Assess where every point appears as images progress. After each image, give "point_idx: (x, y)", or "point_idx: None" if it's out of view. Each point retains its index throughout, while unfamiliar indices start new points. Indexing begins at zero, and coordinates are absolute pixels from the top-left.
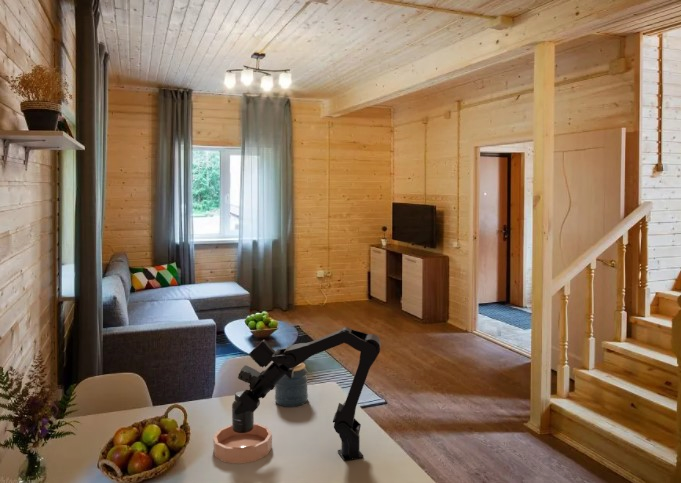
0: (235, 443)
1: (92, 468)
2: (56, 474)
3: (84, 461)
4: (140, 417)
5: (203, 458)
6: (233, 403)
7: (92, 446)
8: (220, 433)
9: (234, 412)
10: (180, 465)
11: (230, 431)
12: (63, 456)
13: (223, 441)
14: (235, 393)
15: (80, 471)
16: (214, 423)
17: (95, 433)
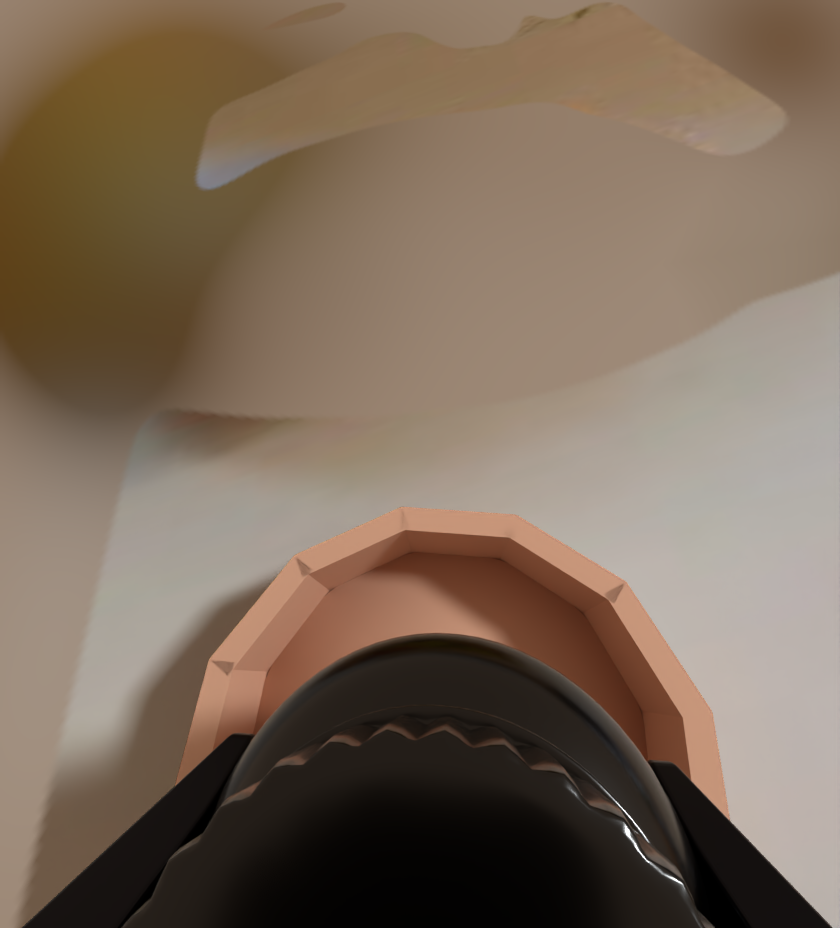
0: None
1: (255, 163)
2: (228, 109)
3: (305, 129)
4: (682, 127)
5: (310, 511)
6: (346, 683)
7: (410, 105)
8: (484, 539)
9: (223, 744)
10: (244, 423)
11: (581, 596)
12: (340, 78)
13: (490, 573)
14: (397, 748)
15: (238, 146)
16: (757, 431)
17: (506, 76)
